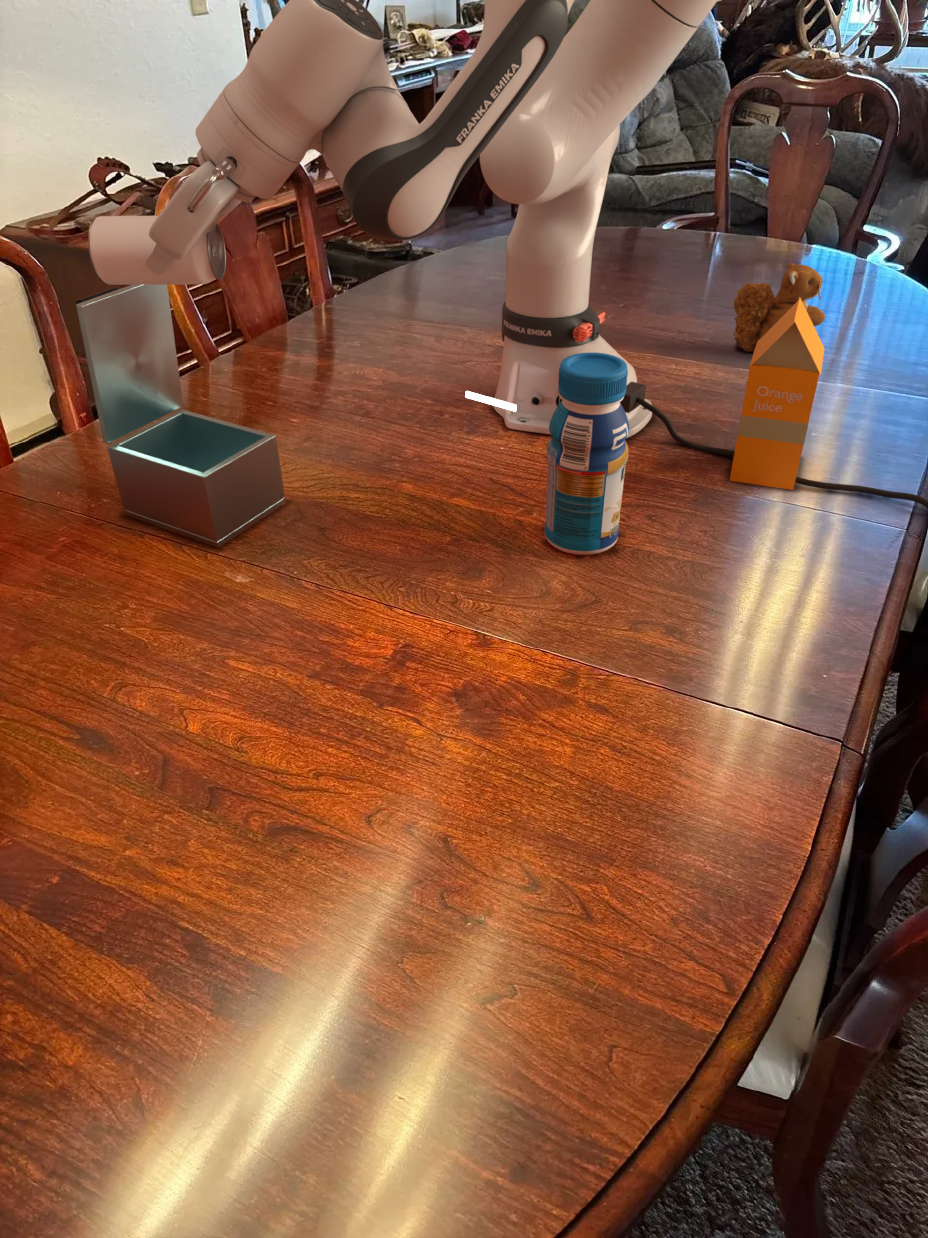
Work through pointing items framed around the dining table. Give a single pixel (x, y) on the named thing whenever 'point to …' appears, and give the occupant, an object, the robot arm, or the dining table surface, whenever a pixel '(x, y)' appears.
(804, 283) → the stuffed squirrel
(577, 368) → the beverage bottle
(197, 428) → the open metal box
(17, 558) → the dining table surface
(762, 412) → the orange juice
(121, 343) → the lid
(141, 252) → the can
